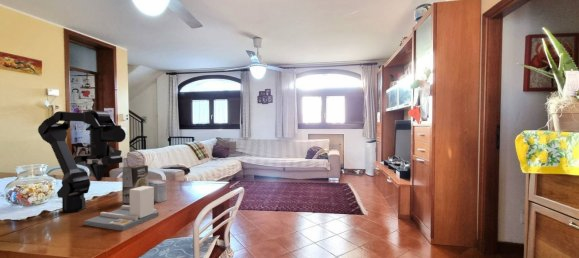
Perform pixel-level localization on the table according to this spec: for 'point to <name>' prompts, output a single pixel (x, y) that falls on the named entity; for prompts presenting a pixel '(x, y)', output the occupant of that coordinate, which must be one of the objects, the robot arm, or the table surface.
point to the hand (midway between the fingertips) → (99, 180)
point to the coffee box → (133, 180)
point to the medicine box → (159, 190)
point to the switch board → (119, 219)
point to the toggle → (141, 201)
